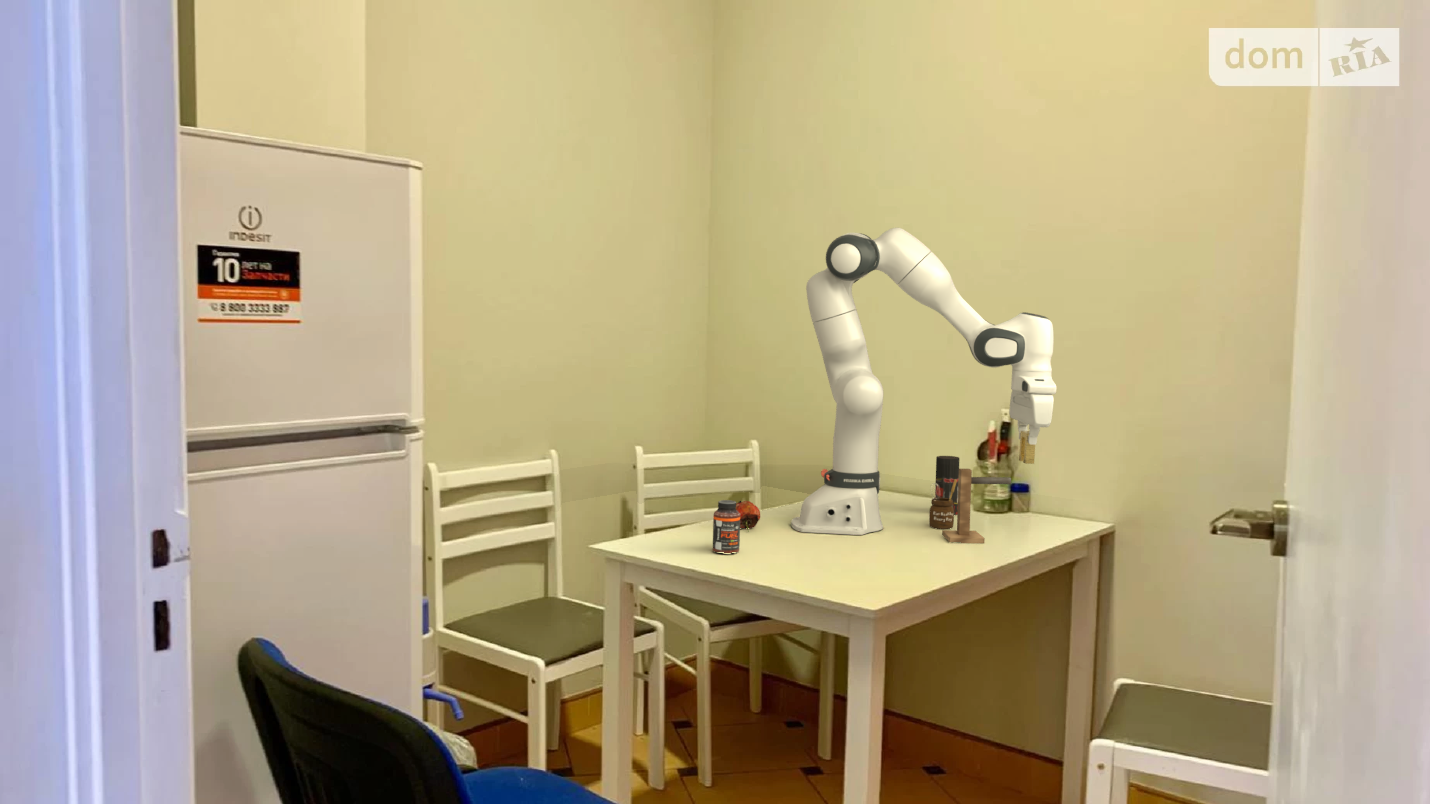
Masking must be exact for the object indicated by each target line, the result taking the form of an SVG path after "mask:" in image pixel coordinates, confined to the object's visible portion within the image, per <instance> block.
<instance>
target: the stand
mask: <svg viewBox="0 0 1430 804" xmlns="http://www.w3.org/2000/svg"><path fill="white" fill-rule="evenodd" d="M972 472H973V470H972V469H971V468H959V482H958V510H957V515H956V516H957V517H956V518H957V519H956V530H955V529H954V530H953V529H952V530H951V529H941V530H942V531H941V536H942V535H943V536H944V537H945V538H946V539H947V540H948V541H949V542H961V543H960V544H985V537H983V536H982V534H980V533H979V532H978V531H977V530H971V529H970V528H971V501H972V500H971V499H972V498H971V497H972V495H971V494H972V485H1011V484H1012V478H1011V477H1005V476H1004V477H1002V476H1001V477H1000V476H995V477H994V476H991V477H990V476H972V475H973V474H972ZM943 536H942V537H943ZM944 537H943V538H944ZM945 538H944V539H945ZM946 539H945V540H946ZM947 540H946V541H947ZM948 541H947V542H948ZM949 542H948V543H949Z"/></svg>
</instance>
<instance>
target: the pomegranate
mask: <svg viewBox="0 0 1430 804" xmlns="http://www.w3.org/2000/svg"><path fill="white" fill-rule="evenodd" d="M736 510H737V511H738V512H739V513H740V528H747V533H748V532H750V531H749V530H750V529H753V528H755V527H756V526H757V524H758V522H759V521H760V520H761V511H760V508H759V507H758V506H757V505H756V504H754V503H753V502H751V501H749V500H743V501H742V500H739V501H738V502H736ZM748 528H750V529H748Z"/></svg>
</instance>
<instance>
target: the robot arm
mask: <svg viewBox="0 0 1430 804" xmlns="http://www.w3.org/2000/svg"><path fill="white" fill-rule="evenodd" d="M825 263H826V267H827V268H825V269H824V270H821V271H818V272H816V273H815V274H813V275H812V276H811V277H810V278H808V280H807V282H806V288H805V289H806V299H807V305H808V309H809V315H810V319H811V322H812V326H813V328H814V332H815V335H816V338H817V343H818V346H819V349H820V351H821V352H820V353H821V356H822V360H823V365H824V368H825V372H826V376H827V380H828V383H829V384H828V385H829V386H830V390H831V395H832V398H833V400H834V402H835V403H836V408H835V409H836V411H835V420H834V421H835V422H834V423H835V424H834V432H833V438H832V439H833V443H832V468H831V469H830V470H828V469H827V468H822V470H820V474H821V477H822V478H823V481H824V482H823V483H824V484H823V485H822V486H821V487H819V488H817V489H816V490H815V491H813V492H812V493H811V494H809V495H808V496H807V497H805V498H804V500H803V502H802V504H801V507H800V513H799V516H796V517H793V518H792V519H791V520H790V521H791V522H790V526H791V527H792V529H793V530H795V531H798V532H801V533H812V534H813V533H815V534H817V533H818V534H835V535H852V536H853V535H854V536H855V535H857V536H862V535H866V534H868V533H872V532H878V531H881V530H883V529H884V526H883V522H882V517H881V512H880V510H881V509H880V503H879V493H880V490H881V486H880V485H881V475H880V474H881V473H880V471H879V447H880V446H879V443H880V442H879V441H880V433H881V432H880V431H881V426H882V425H881V424H882V417H883V416H882V415H883V409H884V407H883V405H884V387H883V385H882V382H881V380H880V379H879V378H878V377H877V376H876V375H874V373H873V370H872V364H871V360H870V356H869V351H868V346H867V340H866V337H865V333H864V331H863V330H864V329H863V327H862V323H861V320H860V317H859V313H858V309H857V306H856V303H855V300H854V296H853V286H854V284H855V283H856V282H857V281H859V280H860V279H862V278H864V277H866V276H867V275H869V274H870V273H871V272H873V271H875V270H876V271H880V272H882V273H884V274H885V275H887V277H889V278H890V279H891V280H892V281H893V282H894V283H895V284H896V285H897V286H898V287H899V288H900V289H901V290H902V291H903V292H904V293H905V294H906V295H908V296H909V297H910V298H912V299H913V300H915V301H916V302H918V303H920V304H921V305H924V306H925V307H927V308H930V309H932V310H933V311H935V312H937V313H938V314H940V315H941V316H943V318H945V319H946V320H947V322H949V324H951V326H952V327H953V328H955V329H956V331H957V332H958V333H959V334H961V336H962V337H963V338H964V340H966V342H967V344H968V346H969V350H970V352H971V354H972V356H973V358H974V360H976V362H977V363H979V364H980V365H982V366H985V367H988V368H993V369H994V368H995V369H996V368H1000V367H1004V366H1009V365H1010V366H1011V382H1010V383H1011V384H1010V389H1011V394H1010V402H1009V410H1008V412H1009V414H1008V415H1009V418H1011V419H1013V420H1016V421H1017V430H1018V440H1019V441H1020V433H1021V431H1029V436H1028V438H1027V439H1028V440H1027V443H1028V444H1033V445H1035V446H1036V445H1037V443H1038V437H1039V434H1040V431H1041V428H1049V427H1050V426H1051V422H1052V419H1053V413H1054V412H1053V411H1054V403H1055V401H1054V395H1056V394H1057V390H1058V389H1057V385H1056V383H1055V381H1054V380H1053V377H1052V374H1053V369H1052V364H1051V362H1052V356H1053V354H1054V341H1055V340H1054V339H1055V338H1054V325H1053V323H1052V321H1051V320H1050V318H1048V317H1046V316H1045V315H1040V314H1036V313H1030V312H1023V311H1022V312H1020V313H1018V314H1017V315H1015V316H1014V317H1012V318H1010V319H1008V320H1006V321H1003V322H1000V323H998V324H994V323H991V322H989V321H987V320H986V319H984V318H983V317H982V316H981V314H979V313H978V312H977V311H976V310H975V309H974V308H973V307H972V306H971V305H970V304H969V303H968V302H967V301H966V300H965V299H964V298H963V297H962V295H961V294H960V293H959V291H958V290H957V288H956V286H955V283H954V281H953V277H952V276H951V273H950V272H949V270H948V269H947V268H946V266H945V264H943V262H942V261H941V259H940V258H939V257H938V256H937V255H936V254H935V253H934V252H933V251H932V250H931V249H930V248H929V247H928V246H926V244H924V243H923V242H922V241H921V240H919V239H918V238H917V237H916V236H914V235H913V234H911V233H910V232H908V231H907V230H906V229H903V228H902V227H892V228H889V229H888V230H885V231H884V232H883V233H882V234H880V235H879V236H878V237H877V238H874V239H872V238H871V237H870V236H869V235H867V234H864V233H860V232H847V233H844V234H842V235H840V236H838V237H836V238H835V239H833V241H831V243H830V244H829V245H828V247H827V249H826V252H825Z"/></svg>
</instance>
